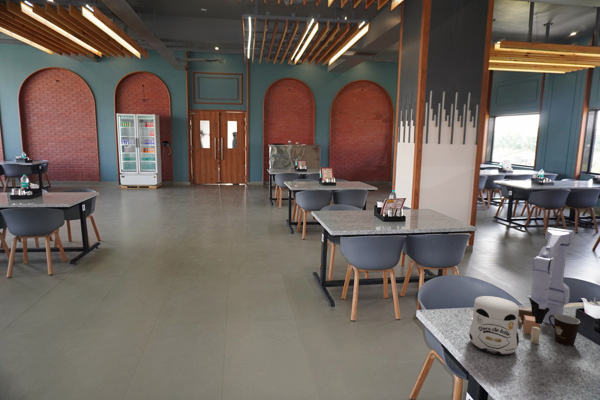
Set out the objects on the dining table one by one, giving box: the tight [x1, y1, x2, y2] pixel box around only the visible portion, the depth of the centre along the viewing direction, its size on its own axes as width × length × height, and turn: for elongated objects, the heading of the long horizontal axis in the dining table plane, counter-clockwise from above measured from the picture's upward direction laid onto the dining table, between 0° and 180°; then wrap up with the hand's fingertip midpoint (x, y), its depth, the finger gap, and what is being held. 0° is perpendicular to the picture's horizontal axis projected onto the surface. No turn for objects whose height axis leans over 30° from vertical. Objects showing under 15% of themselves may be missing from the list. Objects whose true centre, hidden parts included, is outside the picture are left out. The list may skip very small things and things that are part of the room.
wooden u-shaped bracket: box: [517, 308, 541, 330], centre depth 172 cm, size 9×8×5 cm
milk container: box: [468, 295, 520, 356], centre depth 150 cm, size 17×17×18 cm
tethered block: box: [522, 315, 541, 345], centre depth 161 cm, size 14×5×6 cm, turn 157°
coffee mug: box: [549, 314, 581, 347], centre depth 157 cm, size 12×9×10 cm
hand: (536, 319), depth 155 cm, fingers open, 7 cm apart
